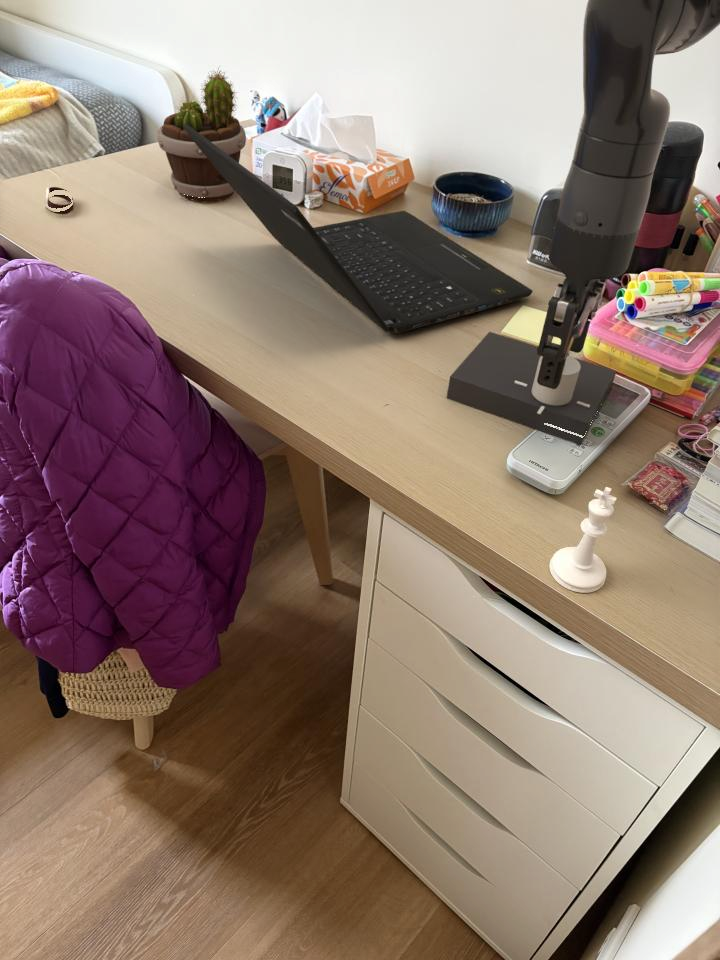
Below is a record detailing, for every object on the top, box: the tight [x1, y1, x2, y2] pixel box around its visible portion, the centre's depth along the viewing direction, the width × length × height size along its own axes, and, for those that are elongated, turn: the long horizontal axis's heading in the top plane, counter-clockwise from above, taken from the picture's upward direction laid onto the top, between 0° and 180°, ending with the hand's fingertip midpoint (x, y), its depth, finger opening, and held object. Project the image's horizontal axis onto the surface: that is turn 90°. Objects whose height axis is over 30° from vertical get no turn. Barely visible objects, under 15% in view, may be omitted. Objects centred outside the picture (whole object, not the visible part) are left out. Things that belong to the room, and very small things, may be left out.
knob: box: [532, 355, 581, 406], centre depth 78 cm, size 4×4×4 cm
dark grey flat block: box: [446, 331, 618, 446], centre depth 83 cm, size 16×13×3 cm
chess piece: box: [549, 486, 617, 594], centre depth 60 cm, size 5×5×10 cm
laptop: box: [184, 124, 533, 334], centre depth 97 cm, size 33×38×19 cm
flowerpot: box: [156, 65, 247, 203], centre depth 120 cm, size 14×15×20 cm
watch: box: [44, 186, 74, 215], centre depth 117 cm, size 8×5×4 cm, turn 17°
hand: (560, 366), depth 76 cm, fingers open, 8 cm apart
